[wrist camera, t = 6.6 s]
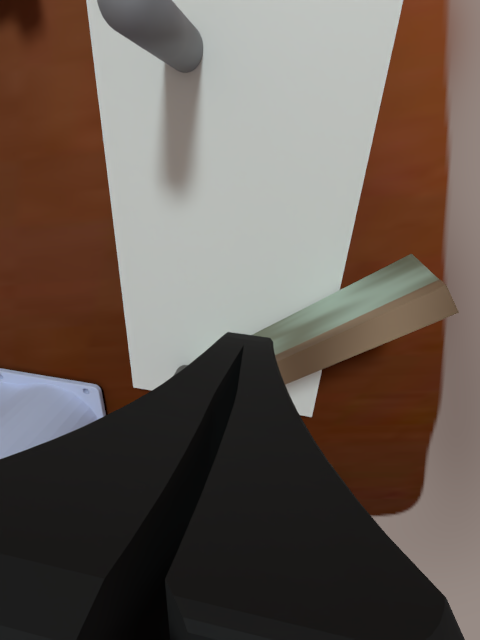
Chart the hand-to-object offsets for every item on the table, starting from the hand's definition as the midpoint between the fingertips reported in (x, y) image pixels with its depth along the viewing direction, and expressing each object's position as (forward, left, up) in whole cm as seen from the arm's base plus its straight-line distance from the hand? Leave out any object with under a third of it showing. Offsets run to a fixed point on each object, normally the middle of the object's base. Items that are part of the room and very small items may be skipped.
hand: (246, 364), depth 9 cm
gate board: (-2, +1, -9) cm, 10 cm away
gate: (+1, -3, -8) cm, 9 cm away
